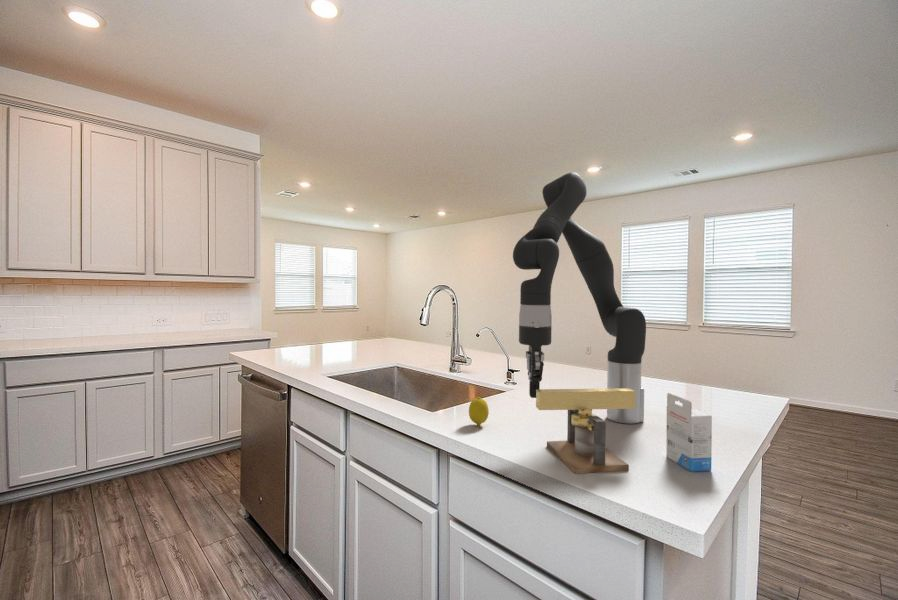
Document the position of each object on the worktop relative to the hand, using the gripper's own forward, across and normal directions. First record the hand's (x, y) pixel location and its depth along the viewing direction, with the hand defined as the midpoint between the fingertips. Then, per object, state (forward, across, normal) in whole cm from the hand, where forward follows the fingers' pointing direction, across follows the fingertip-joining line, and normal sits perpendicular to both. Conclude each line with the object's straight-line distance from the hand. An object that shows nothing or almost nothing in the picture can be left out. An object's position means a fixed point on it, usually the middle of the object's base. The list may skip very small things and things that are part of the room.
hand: (534, 397), depth 96 cm
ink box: (+13, +4, +33) cm, 35 cm away
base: (+12, +3, +11) cm, 17 cm away
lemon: (+13, -16, -14) cm, 25 cm away
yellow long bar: (+5, +3, +11) cm, 13 cm away
